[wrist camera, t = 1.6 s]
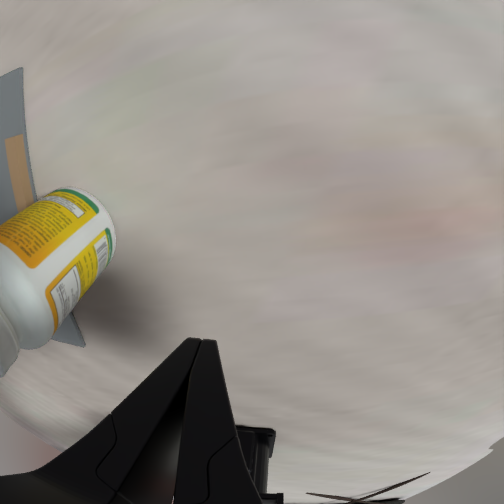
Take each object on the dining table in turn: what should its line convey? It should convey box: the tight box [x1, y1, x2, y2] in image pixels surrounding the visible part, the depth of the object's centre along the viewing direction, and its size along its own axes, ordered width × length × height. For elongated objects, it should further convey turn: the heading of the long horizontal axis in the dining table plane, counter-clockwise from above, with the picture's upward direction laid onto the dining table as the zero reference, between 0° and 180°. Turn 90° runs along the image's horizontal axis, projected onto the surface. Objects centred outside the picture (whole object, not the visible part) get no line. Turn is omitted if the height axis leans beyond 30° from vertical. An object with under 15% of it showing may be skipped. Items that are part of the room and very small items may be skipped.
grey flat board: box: [0, 67, 85, 347], centre depth 15 cm, size 20×8×1 cm, turn 179°
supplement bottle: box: [0, 187, 116, 378], centre depth 11 cm, size 5×5×10 cm
